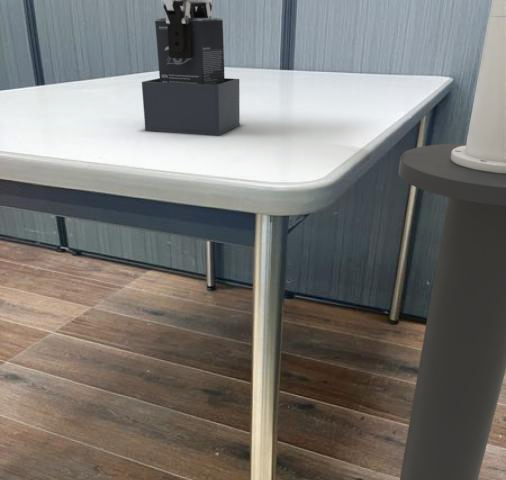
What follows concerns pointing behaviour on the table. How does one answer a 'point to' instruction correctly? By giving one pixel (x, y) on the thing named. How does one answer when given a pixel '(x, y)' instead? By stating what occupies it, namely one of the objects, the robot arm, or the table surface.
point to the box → (193, 53)
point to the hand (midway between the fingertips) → (191, 55)
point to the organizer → (191, 107)
